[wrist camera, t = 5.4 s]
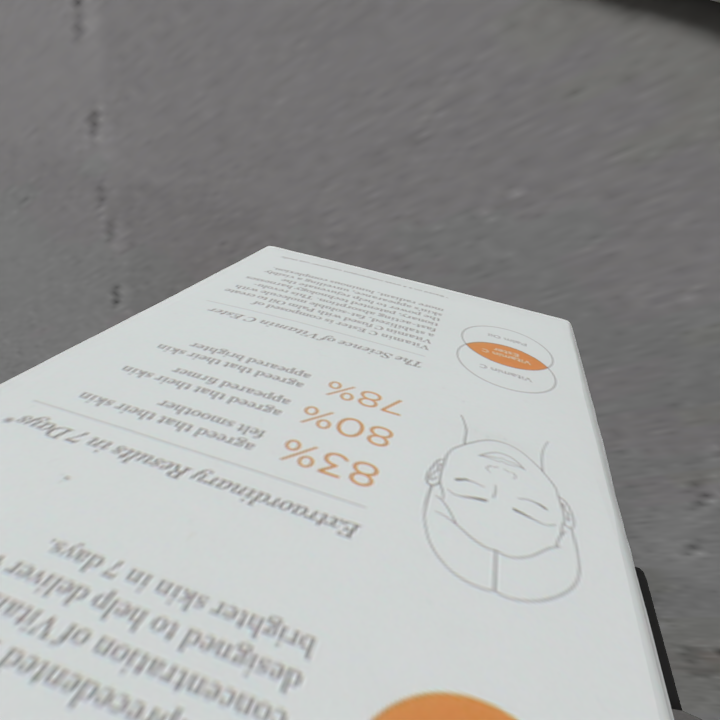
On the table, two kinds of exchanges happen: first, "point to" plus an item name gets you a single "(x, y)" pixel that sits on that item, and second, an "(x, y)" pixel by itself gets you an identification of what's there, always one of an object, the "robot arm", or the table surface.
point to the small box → (316, 513)
